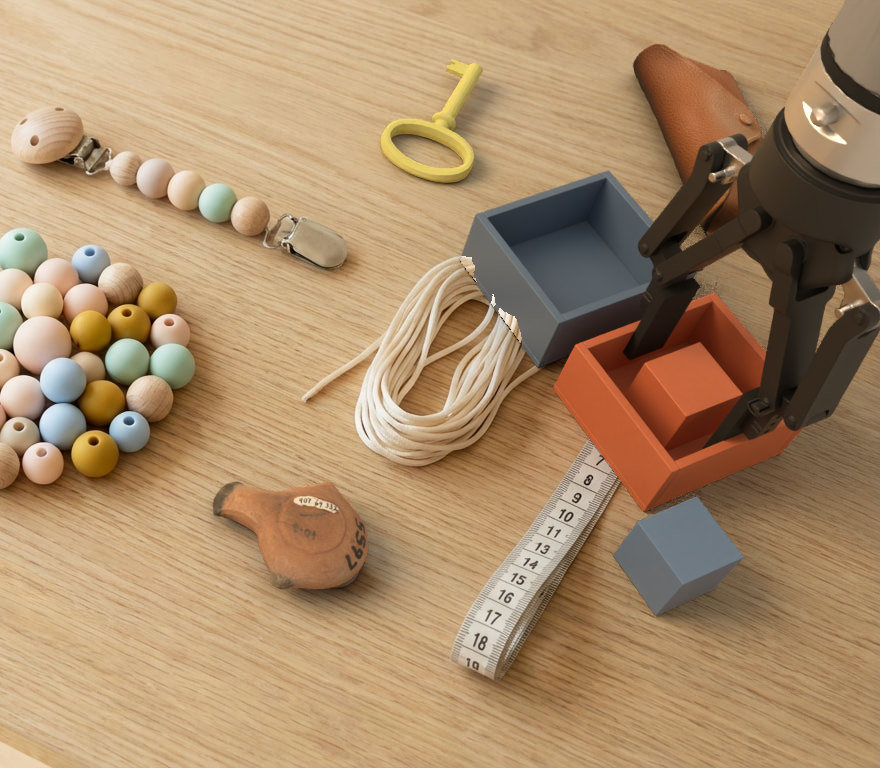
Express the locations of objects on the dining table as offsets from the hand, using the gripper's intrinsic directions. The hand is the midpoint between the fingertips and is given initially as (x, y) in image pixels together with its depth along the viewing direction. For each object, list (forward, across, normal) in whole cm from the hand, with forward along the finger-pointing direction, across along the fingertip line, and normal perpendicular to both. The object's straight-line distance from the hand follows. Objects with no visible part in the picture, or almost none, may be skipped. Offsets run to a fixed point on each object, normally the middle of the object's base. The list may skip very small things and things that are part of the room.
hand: (681, 397), depth 78 cm
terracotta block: (+2, 0, 0) cm, 2 cm away
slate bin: (+3, -12, 0) cm, 12 cm away
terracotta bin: (+3, 0, 0) cm, 3 cm away
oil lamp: (+3, -2, -27) cm, 27 cm away
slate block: (+3, +9, -7) cm, 12 cm away
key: (+3, -29, 0) cm, 29 cm away
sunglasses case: (+3, -19, +19) cm, 27 cm away
